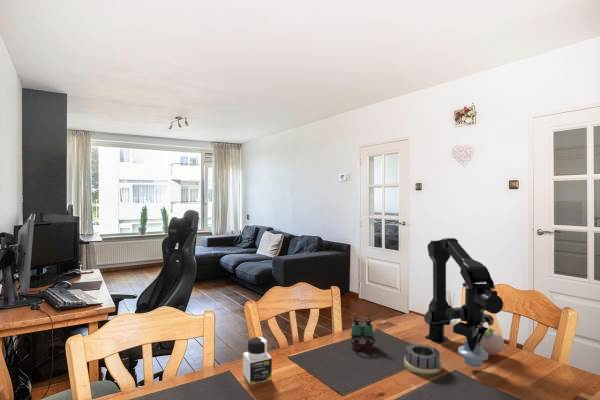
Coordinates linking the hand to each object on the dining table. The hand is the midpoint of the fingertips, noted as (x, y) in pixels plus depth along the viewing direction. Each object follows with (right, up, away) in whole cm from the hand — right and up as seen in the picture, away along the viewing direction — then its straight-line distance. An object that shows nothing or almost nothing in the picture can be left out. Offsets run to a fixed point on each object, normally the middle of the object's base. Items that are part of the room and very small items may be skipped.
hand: (473, 349), depth 117 cm
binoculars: (-34, -6, +15) cm, 38 cm away
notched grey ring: (-16, -7, +2) cm, 18 cm away
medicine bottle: (-71, -6, -6) cm, 72 cm away
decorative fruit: (+12, -7, +11) cm, 18 cm away
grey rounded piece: (0, -5, 0) cm, 5 cm away
